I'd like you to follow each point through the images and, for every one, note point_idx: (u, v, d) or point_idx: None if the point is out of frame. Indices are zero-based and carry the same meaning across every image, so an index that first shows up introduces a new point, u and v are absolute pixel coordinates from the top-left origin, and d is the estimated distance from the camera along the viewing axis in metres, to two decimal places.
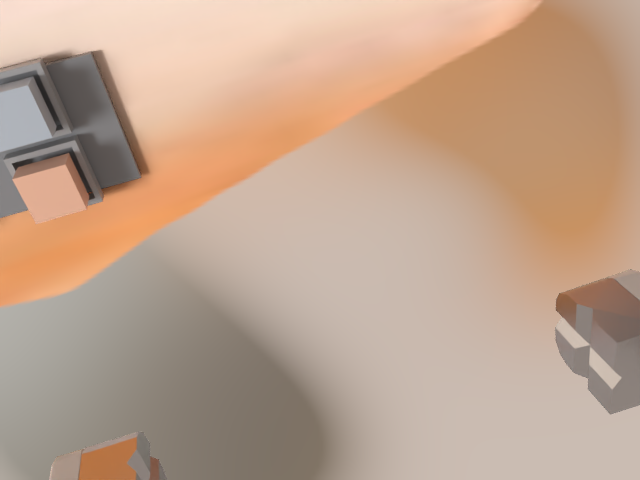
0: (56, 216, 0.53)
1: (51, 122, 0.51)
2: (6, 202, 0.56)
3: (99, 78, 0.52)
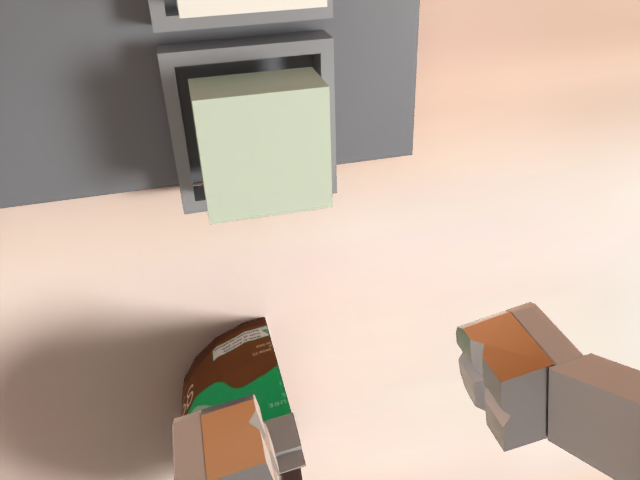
0: None
1: None
2: None
3: None
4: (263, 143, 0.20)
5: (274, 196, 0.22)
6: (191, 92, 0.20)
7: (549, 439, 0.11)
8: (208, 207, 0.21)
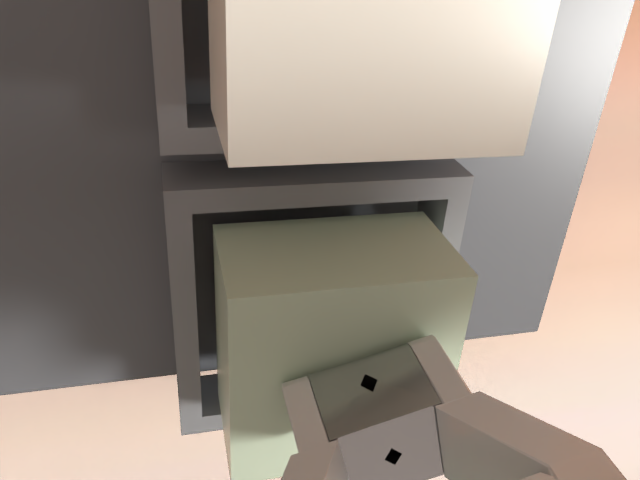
0: None
1: None
2: None
3: None
4: None
5: None
6: (223, 269, 0.11)
7: (446, 476, 0.10)
8: (232, 461, 0.12)
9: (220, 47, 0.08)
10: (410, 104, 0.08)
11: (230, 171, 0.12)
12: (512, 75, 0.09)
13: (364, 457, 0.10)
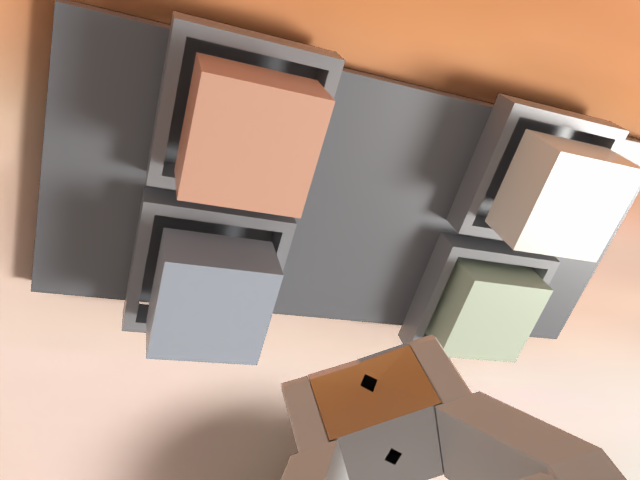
0: (281, 94, 0.20)
1: (160, 255, 0.23)
2: (368, 109, 0.25)
3: (37, 248, 0.25)
4: (498, 315, 0.29)
5: (486, 348, 0.30)
6: (467, 270, 0.28)
7: (446, 476, 0.10)
8: (445, 346, 0.29)
9: (518, 212, 0.25)
10: (569, 240, 0.26)
11: (469, 241, 0.29)
12: (600, 237, 0.26)
13: (364, 457, 0.10)
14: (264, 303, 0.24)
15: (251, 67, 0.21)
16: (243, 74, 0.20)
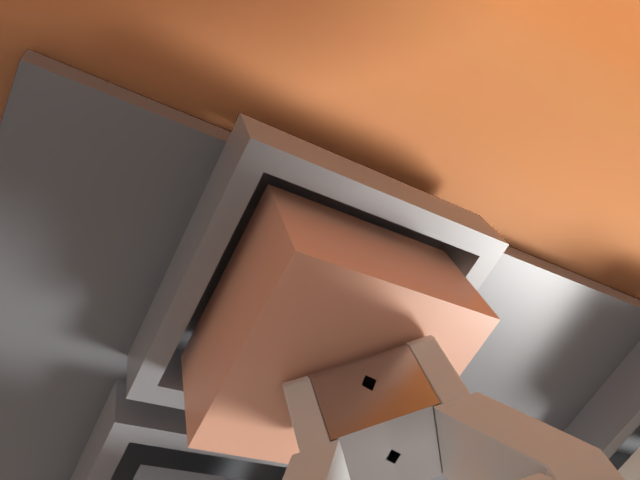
0: (419, 301, 0.11)
1: None
2: (498, 300, 0.16)
3: None
4: None
5: None
6: None
7: (445, 476, 0.10)
8: None
9: None
10: None
11: None
12: None
13: (365, 457, 0.10)
14: None
15: (355, 224, 0.12)
16: (354, 250, 0.11)
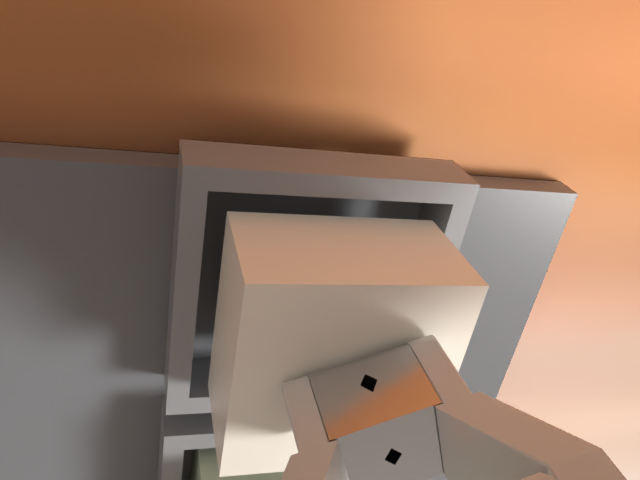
0: None
1: None
2: None
3: None
4: None
5: None
6: (202, 474, 0.15)
7: (445, 475, 0.10)
8: None
9: (222, 395, 0.12)
10: None
11: None
12: None
13: (364, 457, 0.10)
14: None
15: None
16: None
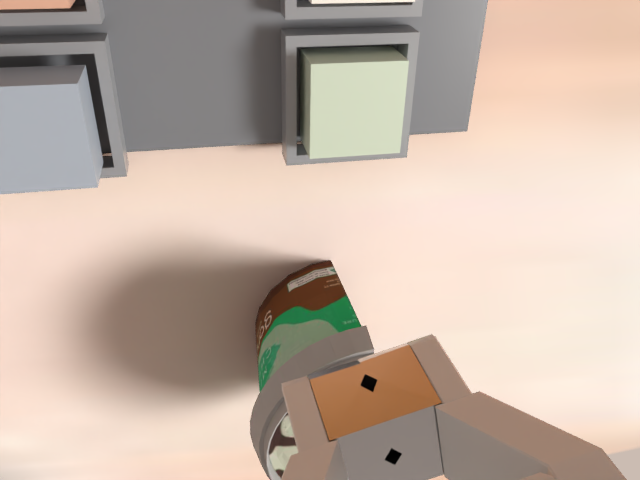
0: None
1: None
2: None
3: None
4: (356, 100, 0.28)
5: (359, 141, 0.29)
6: (307, 58, 0.27)
7: (446, 475, 0.10)
8: (310, 145, 0.28)
9: None
10: None
11: (311, 31, 0.28)
12: None
13: (364, 457, 0.10)
14: (72, 117, 0.24)
15: None
16: None
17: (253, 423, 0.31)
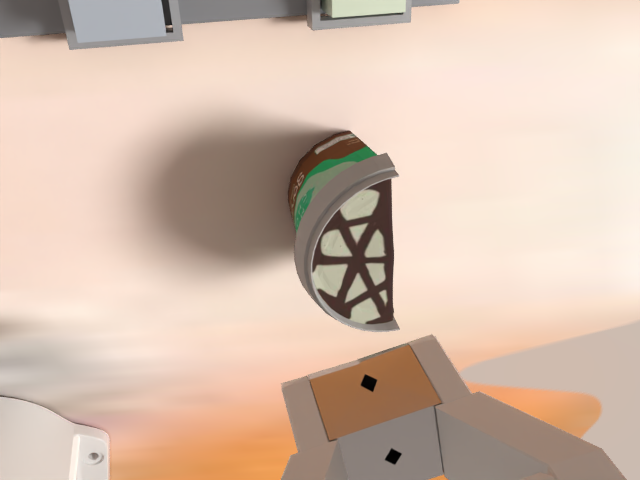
0: None
1: None
2: None
3: None
4: None
5: (371, 1, 0.35)
6: None
7: (445, 476, 0.10)
8: (332, 5, 0.35)
9: None
10: None
11: None
12: None
13: (364, 457, 0.10)
14: None
15: None
16: None
17: (297, 246, 0.37)
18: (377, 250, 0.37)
